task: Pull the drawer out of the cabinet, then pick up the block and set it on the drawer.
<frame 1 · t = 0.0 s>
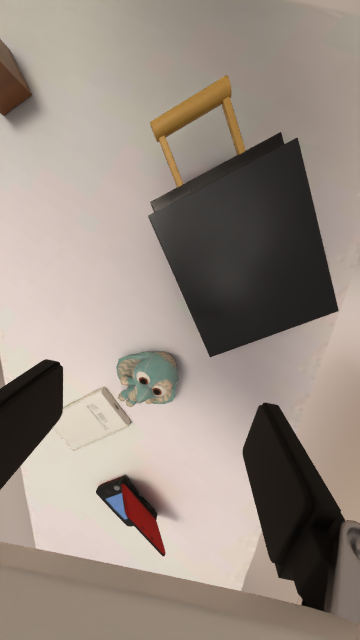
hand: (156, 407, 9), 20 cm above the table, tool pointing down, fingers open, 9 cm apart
drawer: (223, 224, 21), point 4 cm above the table, slide at 0.0 cm, touching cabinet
hard drive: (91, 416, 36), on the table
handheld console: (134, 495, 41), on the table
stuffed animal: (149, 373, 32), on the table
block: (6, 83, 22), on the table
cabinet: (231, 264, 26), on the table
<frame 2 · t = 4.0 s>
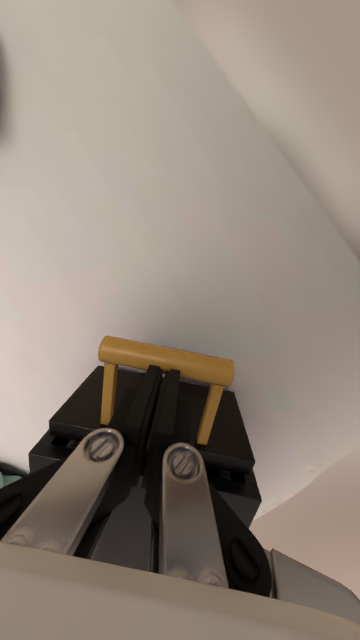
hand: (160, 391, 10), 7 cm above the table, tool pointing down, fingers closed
drawer: (152, 447, 16), point 4 cm above the table, slide at 0.5 cm, touching gripper
stuffed animal: (3, 481, 25), on the table
cabinet: (153, 447, 21), on the table
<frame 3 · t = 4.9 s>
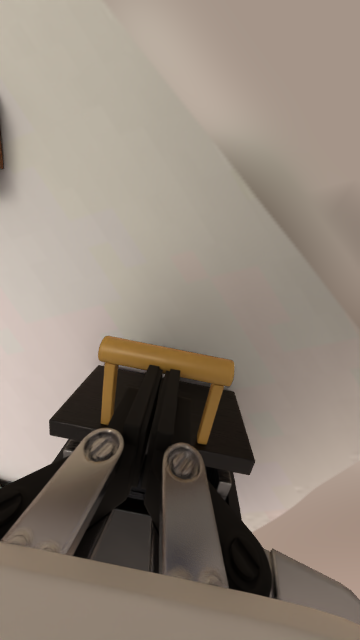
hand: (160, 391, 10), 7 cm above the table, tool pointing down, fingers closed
drawer: (152, 446, 16), point 4 cm above the table, slide at 3.9 cm, touching gripper
cabinet: (149, 468, 22), on the table
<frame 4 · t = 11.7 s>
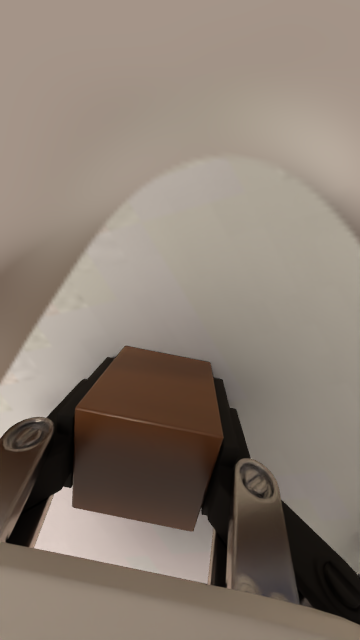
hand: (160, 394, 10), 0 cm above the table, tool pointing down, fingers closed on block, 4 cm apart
block: (161, 389, 10), on the table, touching gripper
when the fingers open (7 cm above the table, at t = 18.1 s): block drops 4 cm, resting on drawer.
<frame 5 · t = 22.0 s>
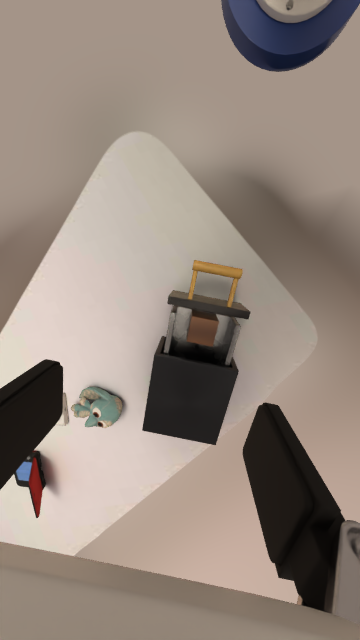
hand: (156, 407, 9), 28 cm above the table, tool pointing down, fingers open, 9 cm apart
drawer: (202, 324, 33), point 4 cm above the table, slide at 8.3 cm, touching block
hard drive: (41, 404, 46), on the table
handheld console: (36, 466, 52), on the table
stuffed animal: (101, 401, 44), on the table
block: (201, 323, 35), point 2 cm above the table, touching drawer
cabinet: (188, 376, 41), on the table
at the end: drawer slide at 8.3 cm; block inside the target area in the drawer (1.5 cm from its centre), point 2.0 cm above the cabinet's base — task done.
